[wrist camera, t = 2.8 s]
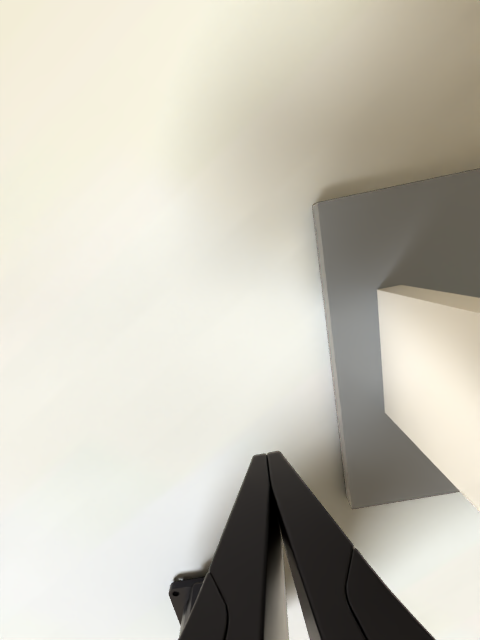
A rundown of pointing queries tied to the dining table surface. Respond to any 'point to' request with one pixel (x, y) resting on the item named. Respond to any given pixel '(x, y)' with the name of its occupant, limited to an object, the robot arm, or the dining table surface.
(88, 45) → the dining table surface
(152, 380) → the dining table surface
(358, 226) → the slate board
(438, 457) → the tile
